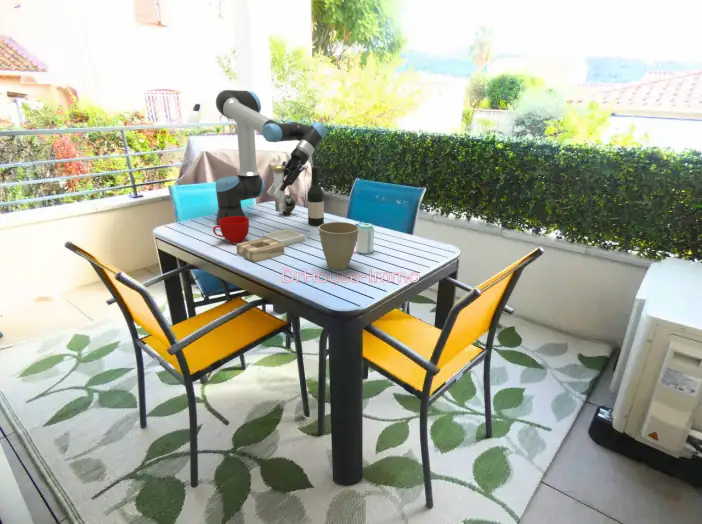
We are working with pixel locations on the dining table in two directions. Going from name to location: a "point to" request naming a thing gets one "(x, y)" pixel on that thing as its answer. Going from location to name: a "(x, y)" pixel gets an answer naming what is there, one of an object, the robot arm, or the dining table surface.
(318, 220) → the wine bottle
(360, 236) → the can
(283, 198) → the pin
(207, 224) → the dining table surface
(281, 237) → the tray
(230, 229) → the ceramic cup
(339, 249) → the plant pot
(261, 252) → the socket block
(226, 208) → the robot arm
